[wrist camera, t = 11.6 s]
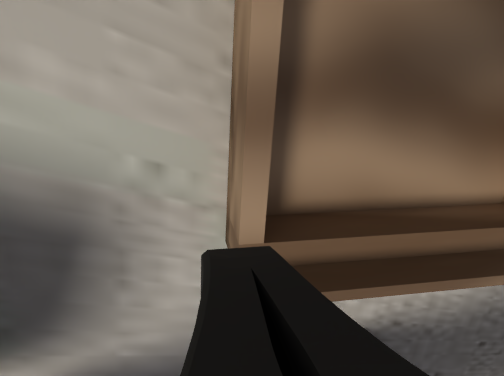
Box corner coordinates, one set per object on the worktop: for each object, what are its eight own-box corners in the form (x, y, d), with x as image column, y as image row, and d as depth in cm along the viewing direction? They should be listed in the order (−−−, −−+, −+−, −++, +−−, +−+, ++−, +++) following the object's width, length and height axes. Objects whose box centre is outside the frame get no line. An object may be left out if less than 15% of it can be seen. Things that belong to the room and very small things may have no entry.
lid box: (497, 223, 24) (573, 277, 19) (225, 240, 20) (245, 310, 16) (590, -50, 18) (725, -58, 14) (238, -85, 15) (273, -108, 11)
